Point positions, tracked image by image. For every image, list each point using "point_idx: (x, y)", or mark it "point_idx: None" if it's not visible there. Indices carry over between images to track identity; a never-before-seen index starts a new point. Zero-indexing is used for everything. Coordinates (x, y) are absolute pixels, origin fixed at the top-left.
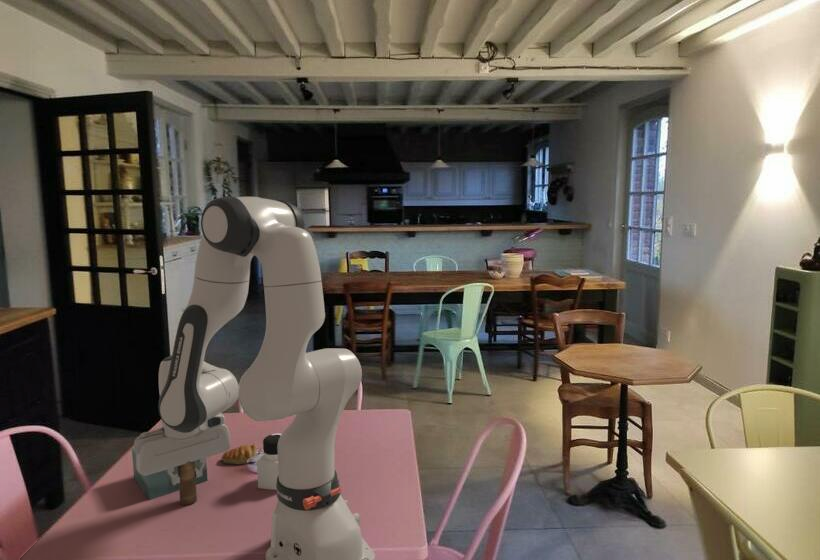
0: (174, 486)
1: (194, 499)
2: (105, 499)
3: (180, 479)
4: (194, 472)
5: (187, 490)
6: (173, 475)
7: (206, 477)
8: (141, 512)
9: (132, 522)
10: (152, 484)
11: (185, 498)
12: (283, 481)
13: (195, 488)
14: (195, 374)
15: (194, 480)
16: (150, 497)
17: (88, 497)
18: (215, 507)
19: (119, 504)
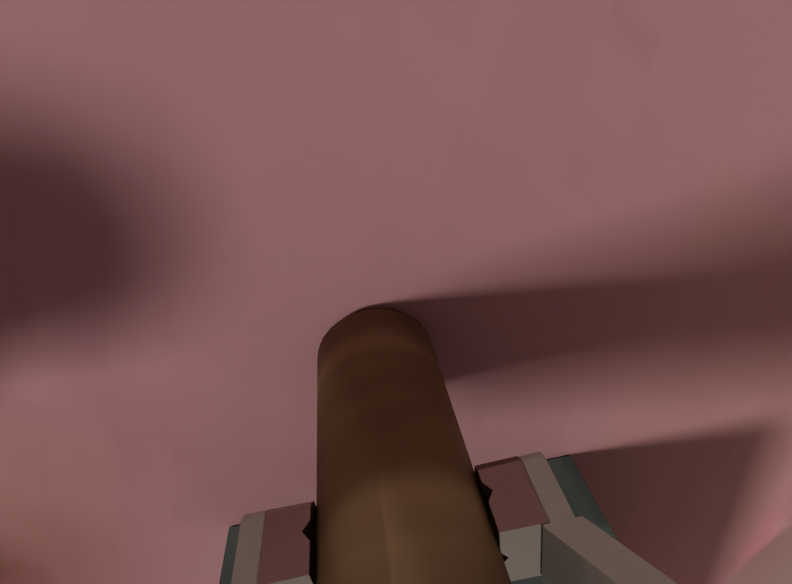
0: None
1: (339, 335)
2: (717, 519)
3: (480, 501)
4: (326, 562)
5: (402, 387)
6: (593, 554)
7: (231, 547)
8: (651, 352)
9: (738, 267)
10: None
11: (411, 343)
12: None
13: (325, 406)
14: None
15: (332, 469)
16: (567, 465)
17: (754, 550)
18: (178, 171)
19: (695, 465)
